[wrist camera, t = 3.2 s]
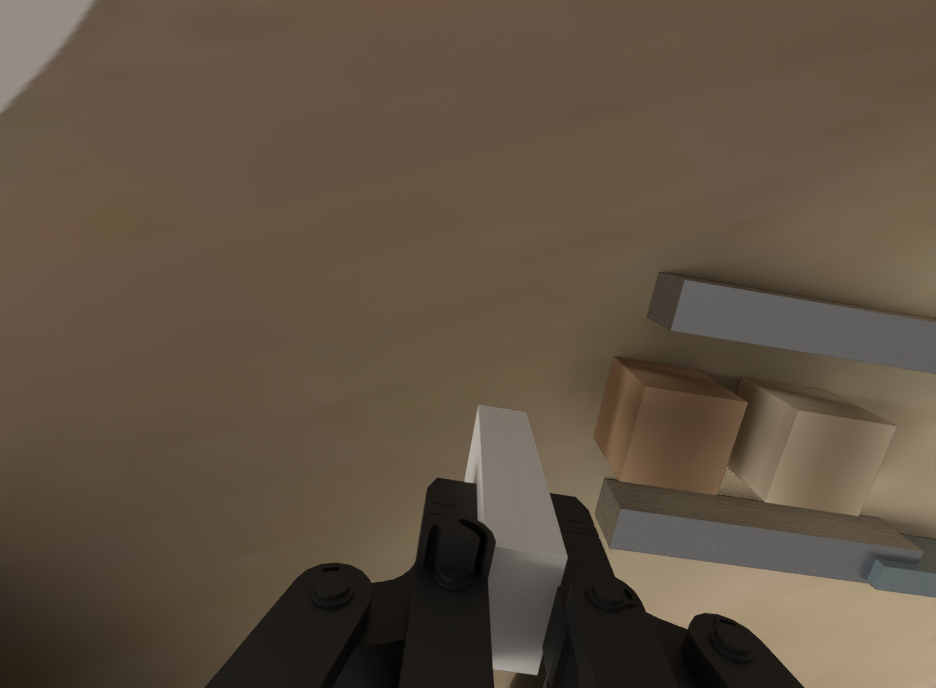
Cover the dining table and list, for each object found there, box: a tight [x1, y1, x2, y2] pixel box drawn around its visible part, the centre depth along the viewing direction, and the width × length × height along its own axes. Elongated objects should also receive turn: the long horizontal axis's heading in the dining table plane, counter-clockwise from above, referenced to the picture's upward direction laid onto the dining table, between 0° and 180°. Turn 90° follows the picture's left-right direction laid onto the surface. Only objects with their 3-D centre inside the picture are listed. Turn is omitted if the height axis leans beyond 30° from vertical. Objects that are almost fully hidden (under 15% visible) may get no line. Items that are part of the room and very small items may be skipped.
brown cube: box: [594, 357, 748, 495], centre depth 21 cm, size 4×4×4 cm
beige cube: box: [727, 377, 897, 516], centre depth 21 cm, size 4×4×4 cm
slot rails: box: [595, 272, 936, 583], centre depth 22 cm, size 14×12×2 cm
